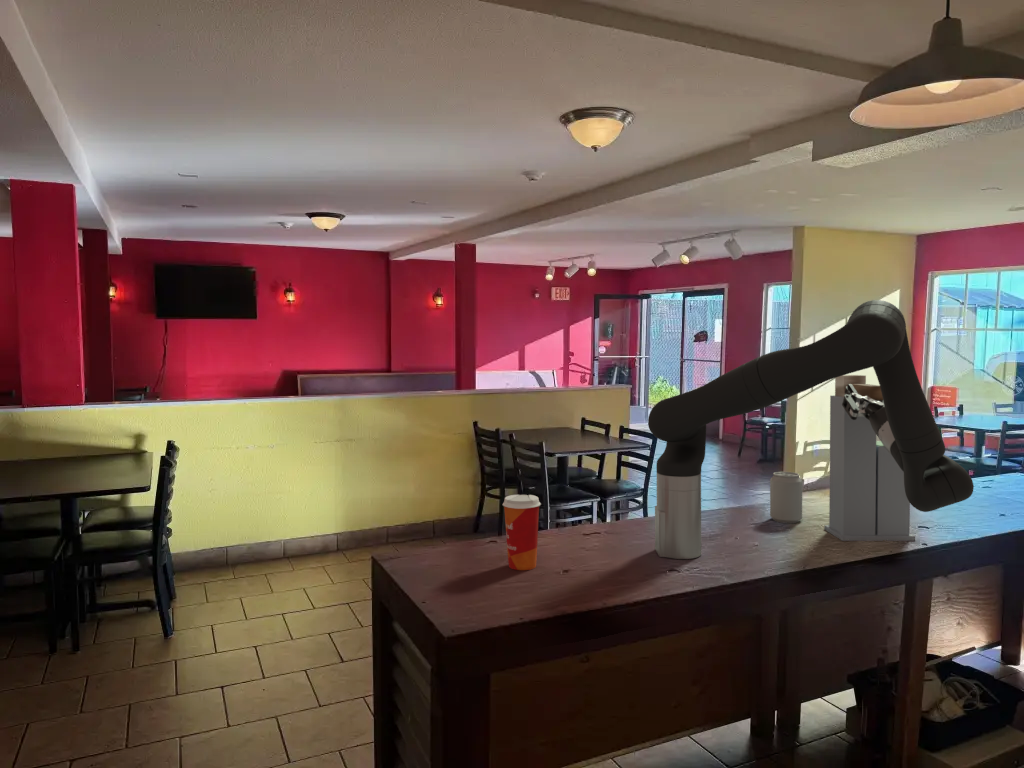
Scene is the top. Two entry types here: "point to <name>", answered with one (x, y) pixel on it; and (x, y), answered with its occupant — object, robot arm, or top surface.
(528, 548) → the paper cup
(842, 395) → the peg
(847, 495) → the stand
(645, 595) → the top surface
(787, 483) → the can
